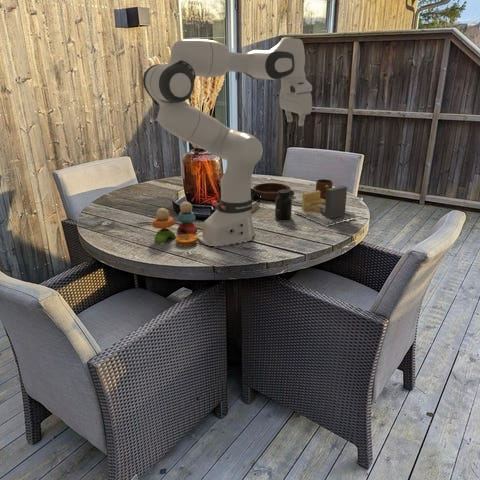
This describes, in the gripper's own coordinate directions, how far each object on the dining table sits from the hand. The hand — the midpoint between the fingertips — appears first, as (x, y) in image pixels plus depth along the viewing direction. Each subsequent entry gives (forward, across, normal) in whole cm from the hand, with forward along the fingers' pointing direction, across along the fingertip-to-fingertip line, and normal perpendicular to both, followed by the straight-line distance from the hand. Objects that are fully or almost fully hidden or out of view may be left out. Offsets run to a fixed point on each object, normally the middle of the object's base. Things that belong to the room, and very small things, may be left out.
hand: (295, 123), depth 167 cm
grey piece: (+41, +1, +12) cm, 43 cm away
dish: (+42, -35, +2) cm, 54 cm away
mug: (+43, -18, +22) cm, 51 cm away
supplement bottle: (+40, -4, -6) cm, 40 cm away
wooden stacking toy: (+35, +1, -50) cm, 61 cm away
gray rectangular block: (+39, +4, +13) cm, 41 cm away
